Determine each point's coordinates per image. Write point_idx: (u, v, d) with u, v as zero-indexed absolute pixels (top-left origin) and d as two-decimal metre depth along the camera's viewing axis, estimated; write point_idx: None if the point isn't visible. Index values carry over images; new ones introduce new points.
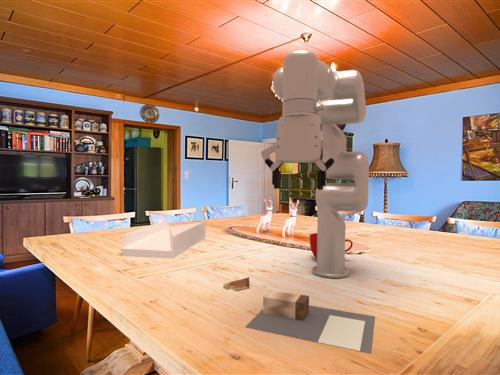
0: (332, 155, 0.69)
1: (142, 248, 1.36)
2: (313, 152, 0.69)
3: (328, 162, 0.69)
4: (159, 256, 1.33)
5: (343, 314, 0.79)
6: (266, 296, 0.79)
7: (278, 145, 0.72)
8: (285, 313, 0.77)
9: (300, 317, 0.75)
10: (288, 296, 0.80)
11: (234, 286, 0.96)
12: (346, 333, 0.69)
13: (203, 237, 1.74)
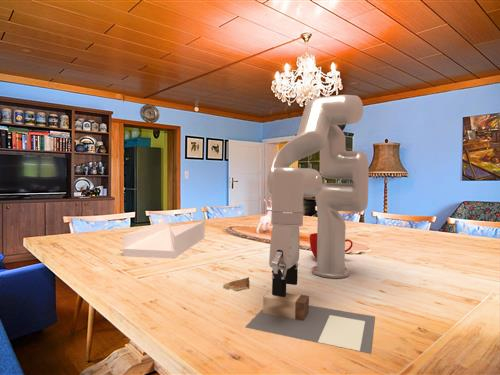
0: None
1: (143, 248, 1.35)
2: (298, 255, 0.81)
3: None
4: (160, 256, 1.34)
5: (343, 314, 0.79)
6: (266, 296, 0.79)
7: (289, 254, 0.74)
8: (285, 313, 0.77)
9: (300, 317, 0.75)
10: (288, 296, 0.80)
11: (234, 286, 0.96)
12: (346, 333, 0.69)
13: (202, 237, 1.74)
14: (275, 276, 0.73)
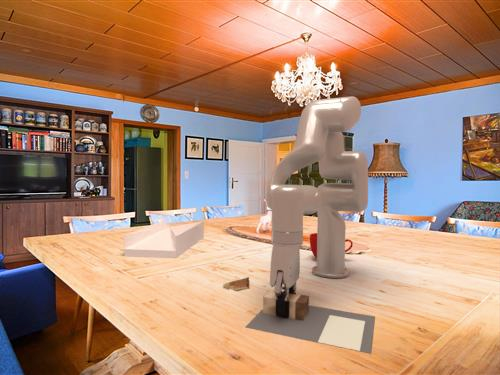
0: None
1: (144, 248, 1.35)
2: (298, 272, 0.82)
3: None
4: (162, 256, 1.34)
5: (343, 314, 0.79)
6: (266, 296, 0.79)
7: (290, 274, 0.75)
8: None
9: (300, 317, 0.75)
10: (288, 296, 0.80)
11: (234, 286, 0.96)
12: (346, 333, 0.69)
13: (202, 237, 1.74)
14: (278, 298, 0.75)
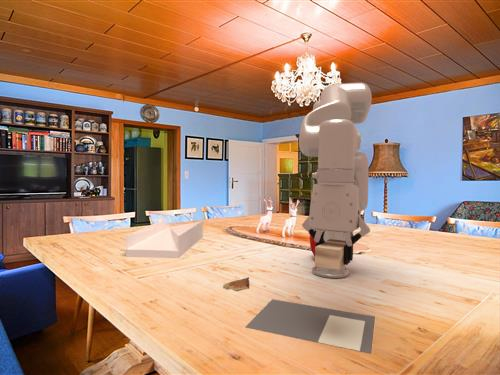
0: None
1: (146, 248, 1.35)
2: None
3: None
4: (164, 256, 1.34)
5: (343, 314, 0.79)
6: (336, 249, 0.66)
7: None
8: None
9: None
10: (332, 243, 0.72)
11: (234, 286, 0.96)
12: (346, 333, 0.69)
13: (201, 237, 1.75)
14: (355, 242, 0.68)
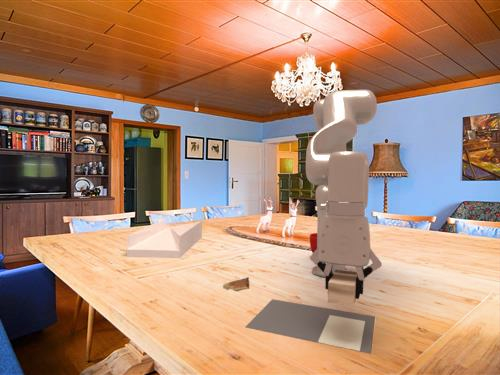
0: None
1: (147, 248, 1.35)
2: None
3: None
4: (165, 256, 1.34)
5: (343, 314, 0.79)
6: (351, 284, 0.65)
7: None
8: None
9: None
10: (341, 276, 0.70)
11: (234, 286, 0.96)
12: (346, 333, 0.69)
13: (200, 236, 1.75)
14: (367, 275, 0.68)
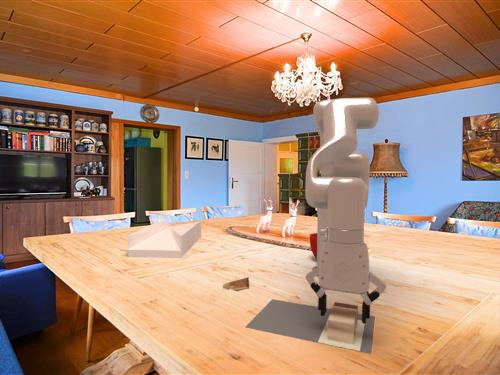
0: None
1: (148, 248, 1.35)
2: None
3: None
4: (167, 256, 1.34)
5: None
6: (350, 322, 0.65)
7: None
8: (355, 327, 0.70)
9: None
10: (341, 311, 0.71)
11: (234, 286, 0.96)
12: None
13: (199, 236, 1.75)
14: None
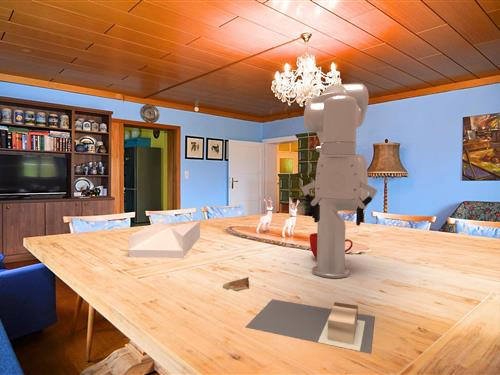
0: None
1: (150, 248, 1.35)
2: None
3: None
4: (168, 256, 1.34)
5: None
6: (350, 322, 0.65)
7: None
8: (355, 327, 0.70)
9: None
10: (341, 311, 0.71)
11: (234, 286, 0.96)
12: None
13: (199, 236, 1.76)
14: (367, 204, 0.75)
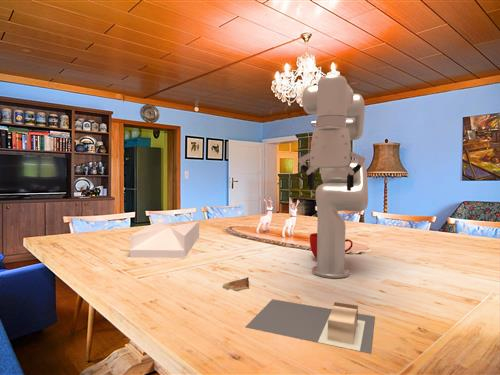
0: None
1: (151, 248, 1.35)
2: None
3: None
4: (170, 256, 1.34)
5: None
6: (350, 322, 0.65)
7: None
8: (355, 327, 0.70)
9: None
10: (341, 311, 0.71)
11: (234, 286, 0.96)
12: None
13: (198, 236, 1.76)
14: (356, 171, 0.83)
